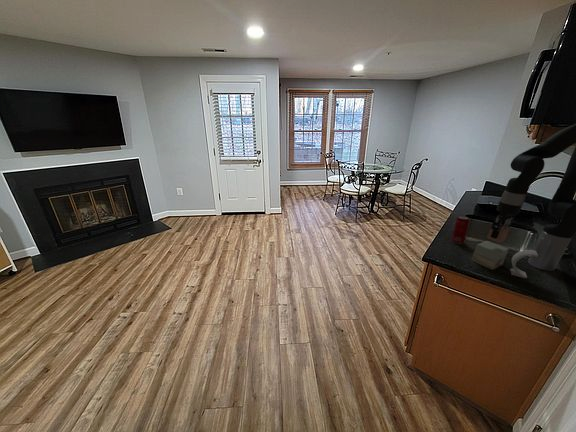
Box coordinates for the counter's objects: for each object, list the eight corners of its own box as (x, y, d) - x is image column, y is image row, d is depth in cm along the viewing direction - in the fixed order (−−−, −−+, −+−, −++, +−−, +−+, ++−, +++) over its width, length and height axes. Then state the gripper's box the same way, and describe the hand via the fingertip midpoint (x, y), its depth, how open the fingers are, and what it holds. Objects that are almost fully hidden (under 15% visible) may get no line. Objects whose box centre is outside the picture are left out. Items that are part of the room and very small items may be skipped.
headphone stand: (526, 278, 103) (538, 255, 98) (508, 273, 106) (519, 250, 101) (524, 273, 106) (535, 250, 101) (507, 268, 109) (517, 246, 105)
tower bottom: (480, 256, 120) (483, 248, 118) (501, 265, 112) (505, 257, 110) (470, 260, 116) (473, 252, 114) (492, 270, 108) (495, 262, 107)
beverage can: (465, 244, 130) (474, 220, 125) (452, 243, 131) (460, 218, 126) (460, 239, 136) (468, 215, 130) (448, 238, 137) (455, 214, 131)
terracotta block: (492, 236, 112) (497, 223, 110) (504, 240, 108) (510, 227, 106) (486, 237, 110) (491, 225, 108) (499, 242, 106) (504, 229, 104)
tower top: (483, 248, 118) (486, 240, 116) (505, 257, 111) (508, 248, 109) (474, 252, 114) (477, 244, 112) (496, 261, 107) (499, 253, 105)
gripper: (514, 206, 96) (498, 243, 103) (529, 202, 102) (513, 237, 109) (492, 201, 102) (479, 236, 109) (508, 197, 108) (495, 230, 115)
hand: (496, 236), depth 109 cm, fingers closed on terracotta block, 5 cm apart
